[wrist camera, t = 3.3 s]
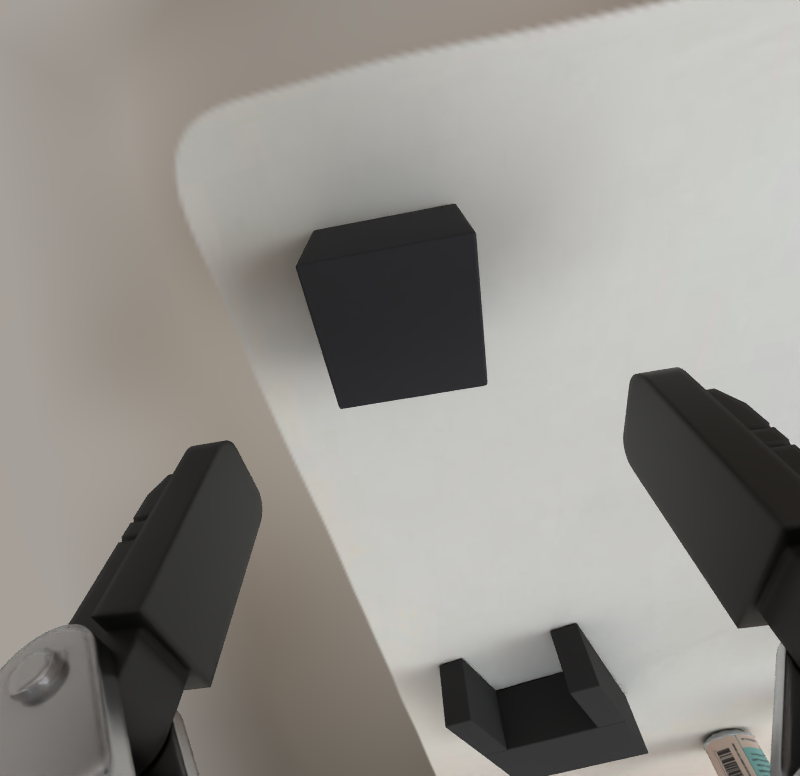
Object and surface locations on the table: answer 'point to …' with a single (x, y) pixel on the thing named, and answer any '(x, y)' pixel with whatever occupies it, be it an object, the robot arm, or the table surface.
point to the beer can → (736, 754)
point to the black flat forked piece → (544, 714)
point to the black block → (397, 305)
